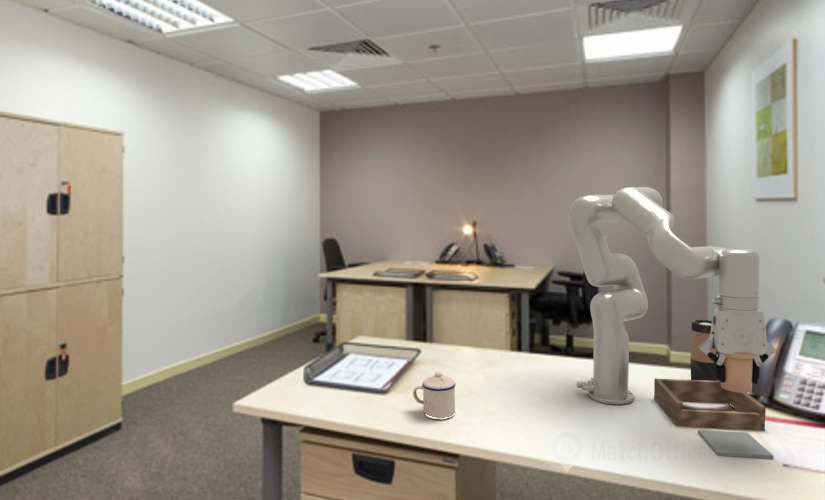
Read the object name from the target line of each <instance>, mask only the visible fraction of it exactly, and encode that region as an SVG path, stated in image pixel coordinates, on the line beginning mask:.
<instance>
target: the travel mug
mask: <svg viewBox="0 0 825 500" xmlns="http://www.w3.org/2000/svg"><path fill="white" fill-rule="evenodd" d="M711 324H712V320H709V319H708V320H707V319H696V320H695V321H694V322H693V321H691V336H690V338H691V339H690V380H708V381H718V380H717V379H716V377H715V376H714V362H713V361H712V360H711V359H710V358H709V357H708V356H707V355H706V354H705V353H704V352H703V351H702V350H700V348H699V346H700V345H701V344H702V343H704V342H705V341H706V340H707V339H708V338H709V337H710V333H711ZM709 350H710V351H711V352H712V353H713V354H714V353H715V351H716V349H713V348H712V347H710V348H709Z"/></svg>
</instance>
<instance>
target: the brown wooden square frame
mask: <svg viewBox="0 0 825 500" xmlns="http://www.w3.org/2000/svg"><path fill="white" fill-rule="evenodd" d="M720 383H721V382H720V381H708V380H691V379H675V378H654V385H653V386H654V389H653V390H654V392H653V393H654V394H653V395H654V396H653V399H654V400H655V402H656V403H657V404H658V405H659V406H660V407H661V409H662V410H663V412H665V413H666V415H667V416H668V417H669V419H671V421H672V422H673V423H674V425H676V426H677V427H687V428H689V427H692V428H707V429H709V428H710V429H725V430H726V429H727V430H747V431H763V432H764V431H766V412H767V411H766V409H767V408H766V406H765V405H764V404H763V403H761V402H759V400H757V399H755V398H754V397H752V396H751V395H750V394H749V393H737V392H732V391H728V390H725V389H723V388H721V386H720ZM683 402H689V403H706V404H707V403H708V404H709V403H710V404H727V403H728V404H727V405H729V404H731V405H733V406H734V407H735V410H734V411H733V410H731V411H728V410H713V409H712V410H709V409H707V410H706V409H687V408H685V409H684V407H683V406H684V405H683Z"/></svg>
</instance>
